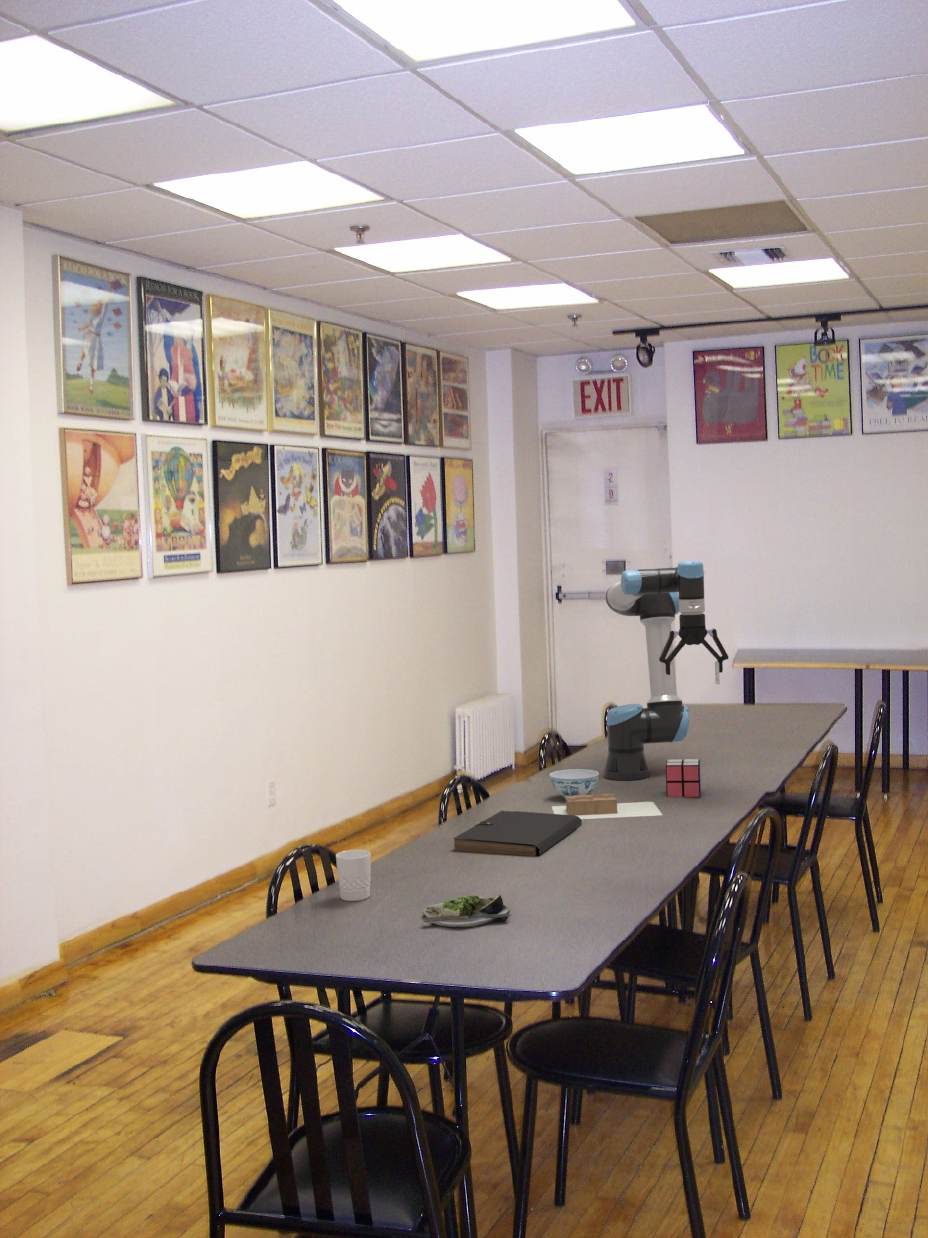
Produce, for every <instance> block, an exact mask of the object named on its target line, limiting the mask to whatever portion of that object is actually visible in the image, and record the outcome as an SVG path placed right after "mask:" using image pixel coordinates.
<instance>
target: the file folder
mask: <svg viewBox="0 0 928 1238" xmlns="http://www.w3.org/2000/svg"><path fill="white" fill-rule="evenodd" d="M582 823H583V819H580V818H579V817H578V816H574V815H562V814H554V813H549V812H547V813H545V812H533V811H532V812H531V811H518V810H516V811H515V810H514V811H509V810H508V811H507V810H500V811H498V812H497V813H495V814H493V815H492V816H490V817H488V818H486V819H484V820H483V821H480V822H479V823H477V824H475V825H474V826H472V827H470V828H468V829H467V830H465V831H464V832H462V833H460V834H458V835H456V836H455V837H453V838H452V839H453V845H454V846H453V849H454V850H453V851H457V852H468V853H469V852H470V853H471V852H472V853H481V854H482V853H483V854H499V855H500V854H501V855H502V854H503V855H514V856H515V855H517V856H530V857H536V856H537V857H539V856H540V855H542V854H543V853H545V852H547V850H550V848H552V847H553V846H555V845H557V844H558V842H560V841H562V840H563V839H564V838H566V837H568V835H570V834H571V833H573V832H574V831H575V830H577V828H579V827H580V826H582ZM538 853H539V854H538ZM537 854H538V855H537Z"/></svg>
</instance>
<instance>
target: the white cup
mask: <svg viewBox="0 0 928 1238" xmlns="http://www.w3.org/2000/svg"><path fill="white" fill-rule="evenodd" d="M335 861H336V871H337V880H338V886H339V891H340V892H339V895H340V899H341V900H342V901H347V902H357V901H363V900H367V899H369V897H371V889H370V888H371V878H372V876H371V872H372V871H371V869H372V867H371V852H370V851H369V850H365V849H348V850H344V851H340V852H337V853H336V854H335Z"/></svg>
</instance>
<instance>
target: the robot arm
mask: <svg viewBox="0 0 928 1238" xmlns="http://www.w3.org/2000/svg"><path fill="white" fill-rule="evenodd" d="M620 577H621V578H620V581H618V582H615V583H613V584H612V585H610V587H608V589H607V590H606V594H605V602H606V605H607V606H608V608H609V609H610V610H612V612H614V613H616V614H618V615H622V616H626V617H639V621H640V623H641V624H642V625H644V627H645V637H646V638H645V639H646V641H645V642H646V651H647V652H646V653H647V665H648V676H649V677H648V678H649V688H650V689H649V691H650V698H649V699H648V700H647V702H646V707H643V705H642V704H641V703H632V704H631V703H629V704H622V705H618V706H615V707H613V708H610V709H609V710H608V712H607V716H606V718H607V719H606V726H607V745H608V746H607V747H608V749H607V751H608V754H607V757H606V761H605V765H604V768H603V777H604V778H605V779H607V780H608V779H609V780H616V781H635V780H643V779H647V778H649V777H650V776H651V769H650V768H651V767H650V766H649V763H648V760H647V758H646V754H645V750H644V747H645V746H644V745H645V744H658V743H661V744H662V743H674V742H682V741H684V740H685V739H686V738H687V735H688V732H689V729H690V728H689V727H690V712H689V708H688V706H687V705H683V699H681V698H680V697H679V696H678V693H677V692H678V689H677V677H676V669H675V667H676V666H675V658H676V657H677V655H678V654H679V653H680V651H681V650H682V649H683V648H684V646H685V645H687V646H692V645H695V646H699V645H700V644H702V645H703V646H704V647H705V648H706V649H707V651H708V652H709V653H710V654H711V655H712V656H713V657H714V658H715V659H716V660H717V661H714V678H715V681H714V682H715V684H716V685H720V680H721V679H720V674H721V673H723V672H724V668H723V667H724V666H723V662H724V661H726V660H729V655H728V653H727V651H726V649H725V647H724V646H723V644H722V643H721V640H720V639H719V637H718V632H717V629H716V628H711V629H707V628H706V614H705V611H706V608H705V607H706V606H705V579H704V577H705V571H704V564H703V562H702V561H700V560H692V561H691V560H690V561H680V562H678V563H677V566H675V567H662V568H660V567H659V568H645V569H643V568H642V569H635V568H633V569H627V570H623V572H622V573H621V576H620ZM678 614H679V617H678V618H679V619H678V620H679V630H677V631H675V630H672V624H673V622H674V621H675V620H676V615H678ZM707 635H709V636H710V637H711V638H712V639H713V641H714V643H715V645H716V647H717V648H718V651H719V653H720V654H721V655H720V654H719V653H718V652H717V651H716V650H715V649H714V647H712V645H710V644H709V642H708V641H707V640H706V639H705V638H706V637H707ZM677 636H679V638H680V641H679V642H678V644H677V645H676V646H675V647H674V642H673V641H674V639H676V638H677Z"/></svg>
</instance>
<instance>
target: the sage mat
mask: <svg viewBox="0 0 928 1238" xmlns="http://www.w3.org/2000/svg"><path fill="white" fill-rule="evenodd" d="M551 810H552V812H553V813H552V814H562V815H568V813H567V810H566V805H557V806H556V805H552V806H551ZM574 816H578V817H579V818H580V819H581V820H591V819H594V820H597V819H614V818H615V819H616V818H632V817H633V818H634V817H636V818H637V817H639V818H640V817H654V816H656V817H657V816H663V813H662V812H661V811H660V809H659V808H658V806H657V805H656V804H655V802H654V801H639V802H638V801H637V802H619V803H618V802H617V813H613V814H592V815H574Z"/></svg>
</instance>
